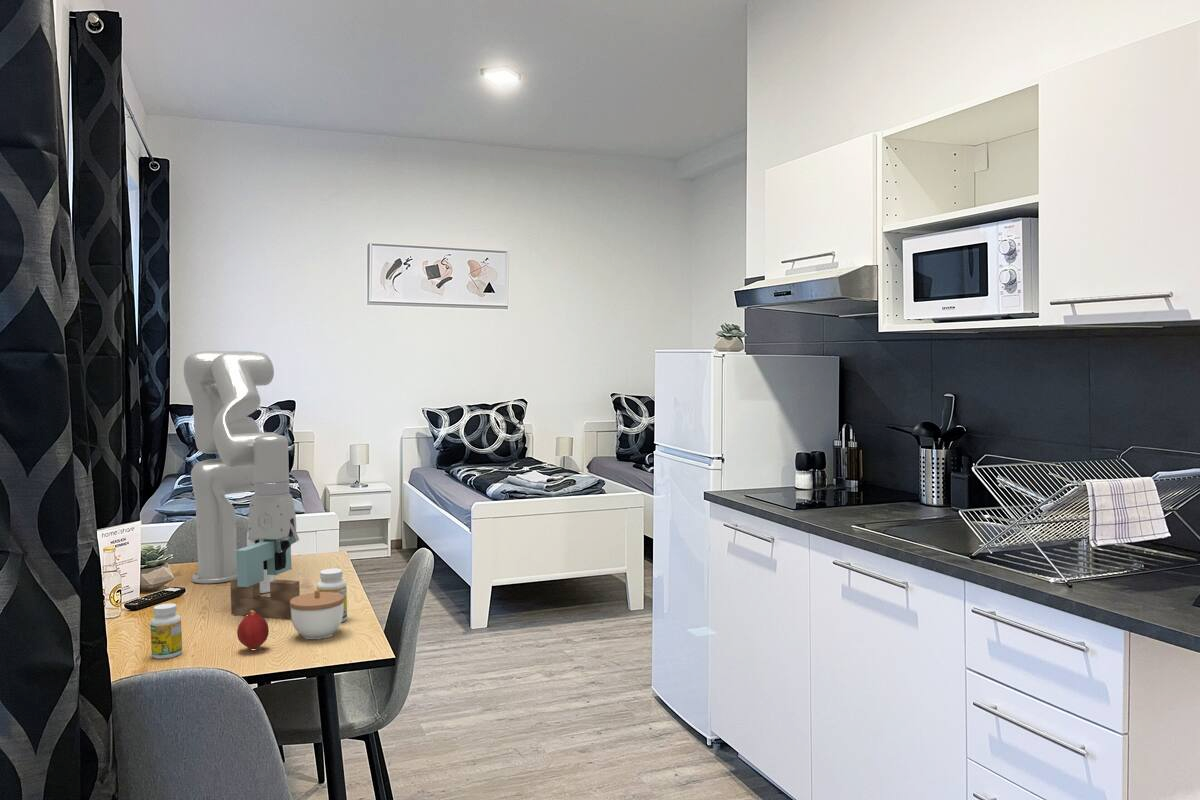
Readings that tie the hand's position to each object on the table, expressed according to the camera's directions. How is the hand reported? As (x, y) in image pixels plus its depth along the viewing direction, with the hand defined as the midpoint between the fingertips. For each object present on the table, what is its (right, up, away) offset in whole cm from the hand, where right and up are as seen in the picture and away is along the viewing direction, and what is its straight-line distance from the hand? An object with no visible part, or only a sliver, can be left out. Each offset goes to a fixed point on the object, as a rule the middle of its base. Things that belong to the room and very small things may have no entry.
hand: (274, 568), depth 202 cm
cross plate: (-1, -2, -3) cm, 4 cm away
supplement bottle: (-9, -11, -31) cm, 34 cm away
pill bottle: (+16, -10, -10) cm, 21 cm away
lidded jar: (+16, -10, -20) cm, 28 cm away
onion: (+7, -11, -29) cm, 32 cm away
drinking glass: (-9, -9, +16) cm, 21 cm away
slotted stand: (0, -10, -5) cm, 11 cm away
